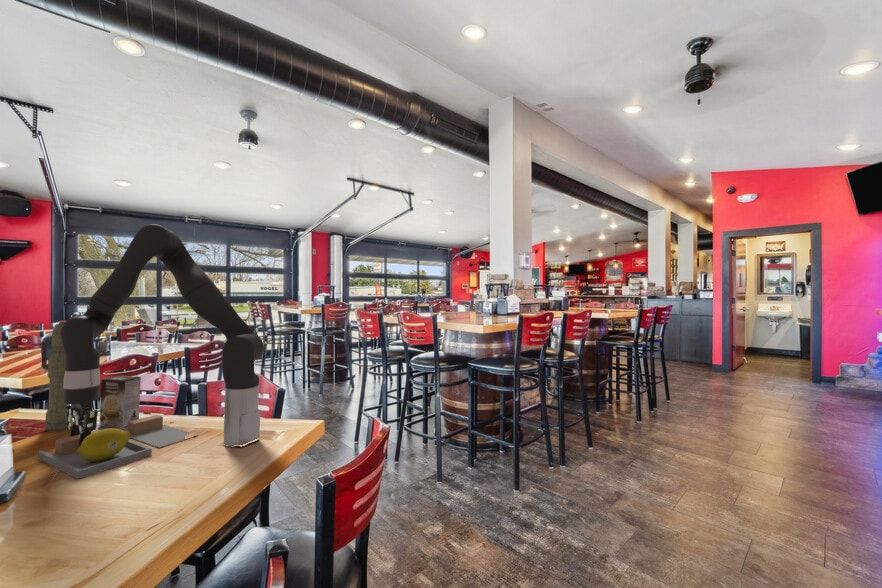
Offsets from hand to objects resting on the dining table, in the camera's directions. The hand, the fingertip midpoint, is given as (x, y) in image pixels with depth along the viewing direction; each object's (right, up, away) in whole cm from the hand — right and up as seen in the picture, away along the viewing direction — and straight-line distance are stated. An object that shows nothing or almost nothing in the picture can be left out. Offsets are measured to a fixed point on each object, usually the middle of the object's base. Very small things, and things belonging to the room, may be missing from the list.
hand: (80, 443), depth 104 cm
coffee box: (-7, -2, +21) cm, 22 cm away
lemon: (+13, -2, -6) cm, 15 cm away
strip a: (+14, -2, +12) cm, 18 cm away
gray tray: (+9, -2, -4) cm, 10 cm away
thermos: (-22, -2, +17) cm, 28 cm away
